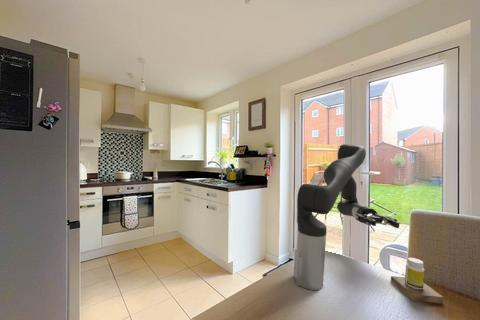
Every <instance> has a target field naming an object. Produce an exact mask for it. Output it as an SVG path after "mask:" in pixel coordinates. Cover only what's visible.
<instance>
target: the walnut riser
mask: <svg viewBox="0 0 480 320" xmlns="http://www.w3.org/2000/svg"><path fill="white" fill-rule="evenodd" d="M391 281H392V282H393V283H394V284H395V285H396V286H397V287H396V286H395V285H394V284H393V283H392V282H391ZM390 282H391V283H392V284H393V285H394V286H395V287H396V288H397V289H398V290H399V291H400V292H401V293H403V295H405V296H406V297H408V299H409V300H410V301H413V302H423V303H431V304H433V303H434V304H443V303H444V296H443V295H441V294H440V293H438V292H437V291H436V290H435V289H433V288H432V287H430V286H429V285H428V284H426V283H425V282H424V286H423V289H414V288H412V287H410V286H408V285H407V284H406V283H405V276H395V275H394V276H393V275H391V276H390Z"/></svg>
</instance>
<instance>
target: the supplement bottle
mask: <svg viewBox="0 0 480 320" xmlns="http://www.w3.org/2000/svg"><path fill="white" fill-rule="evenodd" d="M424 266H425V265H424V261H423V260H421V259H418V258H415V257H408V258H407V263H406V264H405V272H404V273H405V275H404V277H405V283H406V284H407V285H408V286H410V287H412V288H414V289H423V286H424V283H425V282H424V281H425V268H424Z"/></svg>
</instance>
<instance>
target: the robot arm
mask: <svg viewBox="0 0 480 320" xmlns="http://www.w3.org/2000/svg"><path fill="white" fill-rule="evenodd" d="M366 156H367V152H366V149H365V147H364V146H362V145H357V144H341V145H340V146H339V147H338V150H337V159H336V160H334V161H331V163H329V164H328V166H327V167H326V168H325V169H324V171H323V180H324V182H325V184H326V185H318V184H310V183H303V184H301V186H300V187H299V188H298V192H297V198H296V199H297V200H296V209H297V210H296V223H297V233H296V234H297V235H296V236H297V237H296V249H295V250H294V258H293V260H294V261H293V278H294V281H295V285H296V286H298V287H302V288H303V289H306V290H311V291H316V290H317V291H318V290H321V289H322V288H323V287H324V280H325V279H324V275H325V262H326V261H325V260H326V245H327V225H326V224H325V223H324V222H322V221H320V219H318V218H317V217H316V216H315V215H314V213H315V214H318V215H319V214H320V215H327V214H328V213H330V212H331V211H332V209H333V207H334V206H335V204H336V201H337V199H338V197H339V195H340V196H341V198H342V199H343V200H340V201H338V203H337V204H336V209H337V211H338V212H339V213H340V214H341V215H343V216H348V217H353V218H354V219H355V220H356V221H358V222H359V223H362V224H365V225H367V226H373V227H377V225H382V226H391V227H393V228H395V229H399V228H400V222H398V219H397V218H393V216H389V215H381V214H379V213H378V212H377V210H376V209H374V208H372V207H370V206H366V205H364V204H361V203H359V202H358V198H357V182H356V180H355V178H354V176H353V174H354V172H356V170H357V169H358V168H359V167H361V165H362V164H363V163H364V161H365V158H366Z"/></svg>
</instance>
